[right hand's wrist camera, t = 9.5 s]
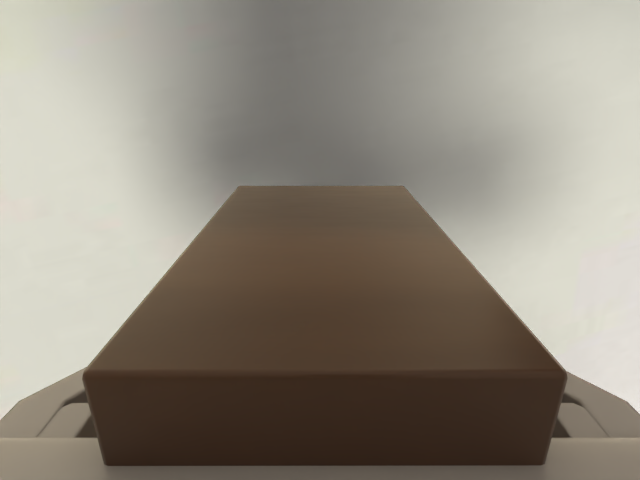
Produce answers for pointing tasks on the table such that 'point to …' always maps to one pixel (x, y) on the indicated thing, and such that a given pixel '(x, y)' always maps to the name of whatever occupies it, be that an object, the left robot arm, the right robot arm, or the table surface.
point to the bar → (323, 346)
